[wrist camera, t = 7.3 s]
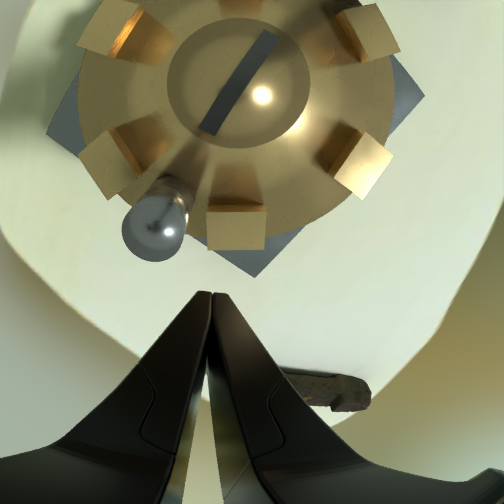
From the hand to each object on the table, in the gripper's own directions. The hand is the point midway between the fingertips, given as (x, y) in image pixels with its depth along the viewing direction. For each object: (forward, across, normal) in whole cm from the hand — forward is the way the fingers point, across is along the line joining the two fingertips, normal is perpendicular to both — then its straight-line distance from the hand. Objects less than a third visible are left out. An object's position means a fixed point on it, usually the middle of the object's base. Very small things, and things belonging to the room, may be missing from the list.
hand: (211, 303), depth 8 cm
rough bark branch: (+12, -12, +19) cm, 26 cm away
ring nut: (+10, 0, -6) cm, 12 cm away
